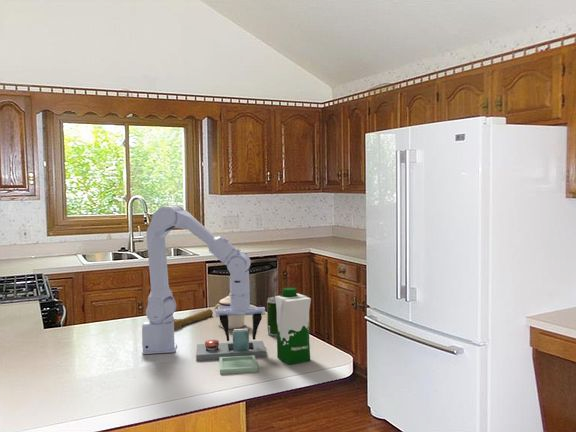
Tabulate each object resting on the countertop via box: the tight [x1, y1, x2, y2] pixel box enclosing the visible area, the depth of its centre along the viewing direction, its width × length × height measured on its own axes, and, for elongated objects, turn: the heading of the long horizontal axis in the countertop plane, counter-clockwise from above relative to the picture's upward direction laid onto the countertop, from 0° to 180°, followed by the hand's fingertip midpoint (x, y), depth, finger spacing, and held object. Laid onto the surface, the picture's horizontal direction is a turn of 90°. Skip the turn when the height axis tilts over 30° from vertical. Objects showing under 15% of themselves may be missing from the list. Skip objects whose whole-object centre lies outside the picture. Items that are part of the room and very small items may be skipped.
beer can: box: [266, 296, 277, 337], centre depth 173 cm, size 5×5×12 cm
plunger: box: [204, 339, 220, 351], centre depth 153 cm, size 4×4×3 cm
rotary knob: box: [232, 328, 250, 352], centre depth 155 cm, size 5×5×7 cm
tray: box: [218, 355, 259, 375], centre depth 143 cm, size 10×10×1 cm
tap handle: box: [174, 309, 214, 331], centre depth 186 cm, size 3×3×30 cm
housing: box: [195, 340, 267, 361], centre depth 154 cm, size 20×10×2 cm, turn 98°
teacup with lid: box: [214, 293, 245, 330], centre depth 185 cm, size 12×9×12 cm
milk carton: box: [274, 286, 312, 366], centre depth 147 cm, size 9×9×20 cm
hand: (241, 339), depth 155 cm, fingers open, 7 cm apart
